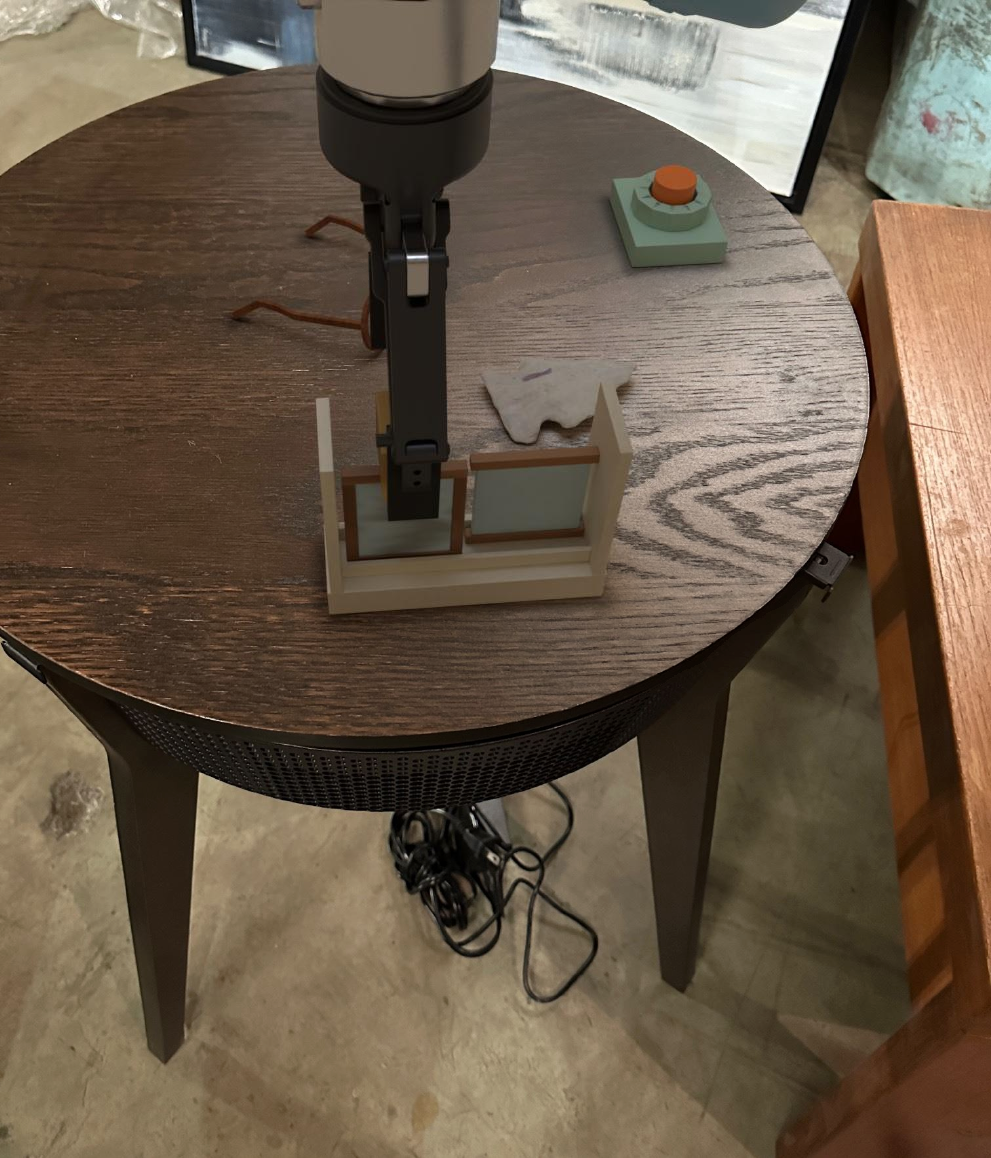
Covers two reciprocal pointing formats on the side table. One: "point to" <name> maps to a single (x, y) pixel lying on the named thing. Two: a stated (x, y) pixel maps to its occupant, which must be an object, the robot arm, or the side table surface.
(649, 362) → the side table surface
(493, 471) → the window frame
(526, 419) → the decorative stone
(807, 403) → the side table surface
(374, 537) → the pane
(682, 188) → the button
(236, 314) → the glasses
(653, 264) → the button box
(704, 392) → the side table surface
